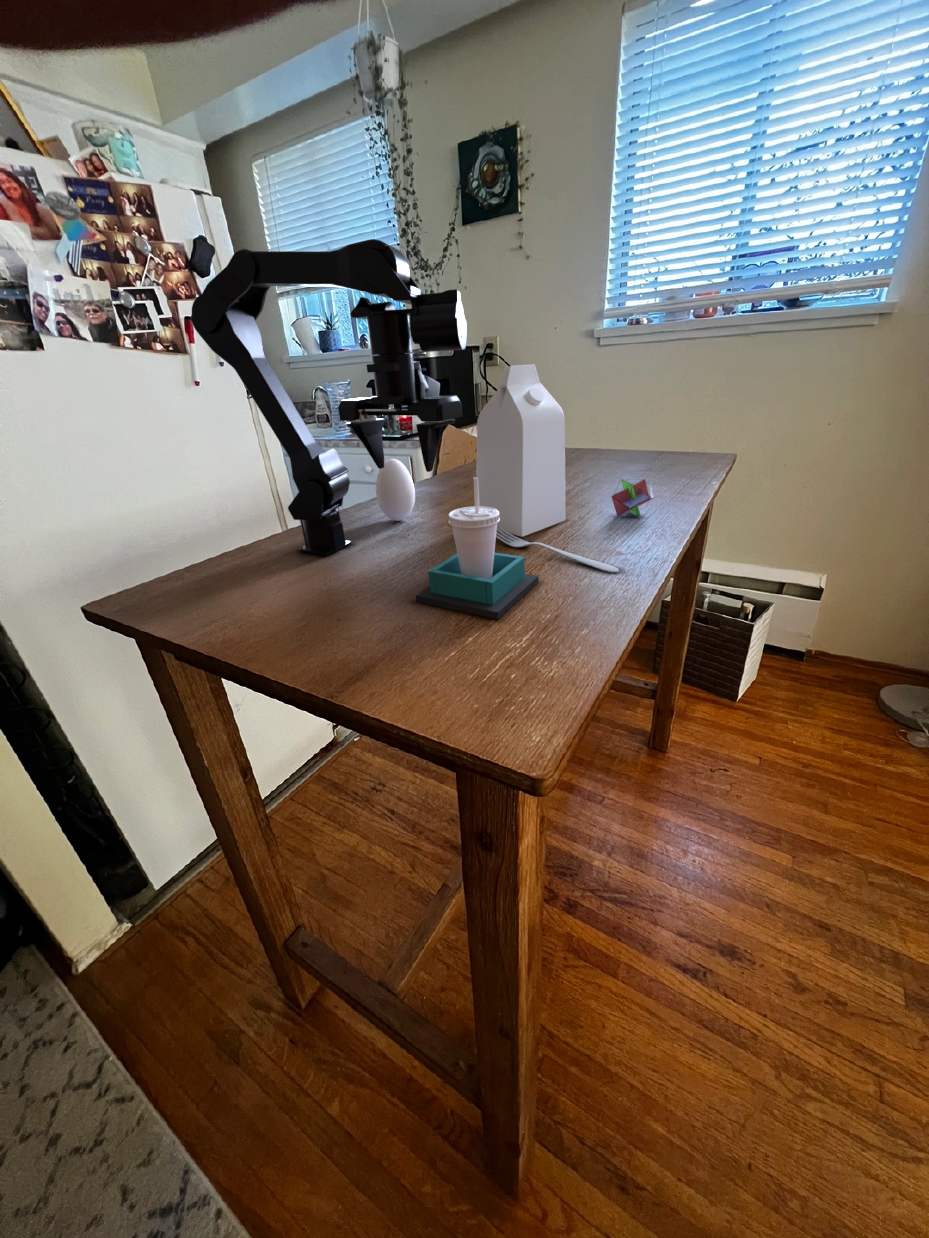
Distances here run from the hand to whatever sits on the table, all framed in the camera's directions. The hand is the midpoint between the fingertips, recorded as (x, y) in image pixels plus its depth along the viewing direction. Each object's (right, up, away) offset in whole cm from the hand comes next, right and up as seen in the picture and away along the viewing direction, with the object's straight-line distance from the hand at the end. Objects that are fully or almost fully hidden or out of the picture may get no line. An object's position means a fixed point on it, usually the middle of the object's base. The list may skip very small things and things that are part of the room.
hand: (404, 469), depth 77 cm
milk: (+19, -5, +16) cm, 26 cm away
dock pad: (+11, -19, -10) cm, 24 cm away
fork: (+22, -13, +1) cm, 26 cm away
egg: (-4, -4, +22) cm, 23 cm away
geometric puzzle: (+40, -4, +16) cm, 43 cm away
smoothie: (+11, -18, -10) cm, 24 cm away
